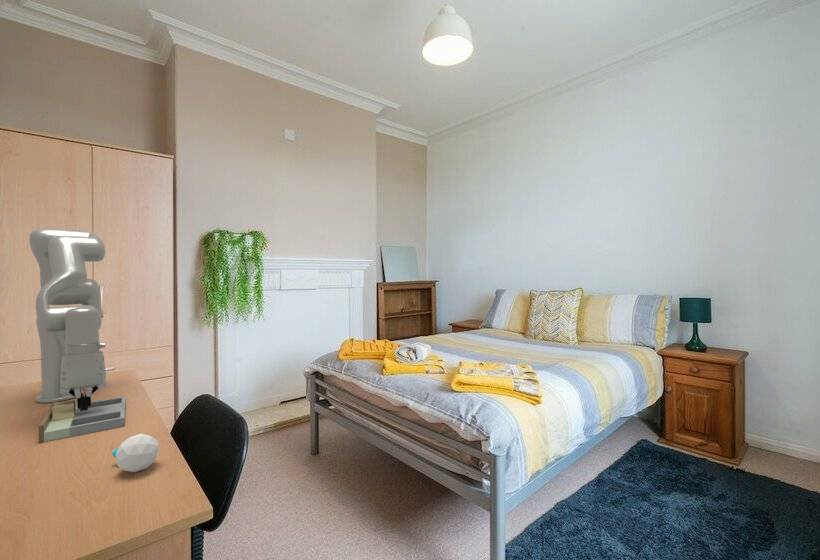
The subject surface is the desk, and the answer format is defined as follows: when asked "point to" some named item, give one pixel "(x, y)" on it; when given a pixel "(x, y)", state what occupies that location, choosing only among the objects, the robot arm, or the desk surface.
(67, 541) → the desk surface
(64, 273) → the robot arm
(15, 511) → the desk surface
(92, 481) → the desk surface
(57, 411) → the maple block
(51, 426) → the board
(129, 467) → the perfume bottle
